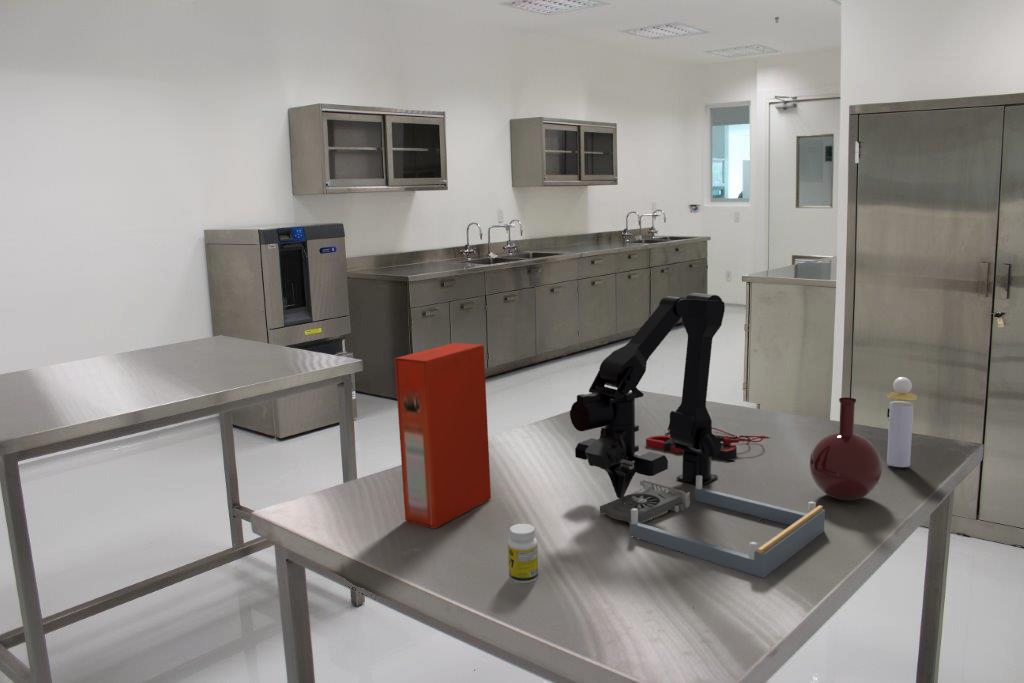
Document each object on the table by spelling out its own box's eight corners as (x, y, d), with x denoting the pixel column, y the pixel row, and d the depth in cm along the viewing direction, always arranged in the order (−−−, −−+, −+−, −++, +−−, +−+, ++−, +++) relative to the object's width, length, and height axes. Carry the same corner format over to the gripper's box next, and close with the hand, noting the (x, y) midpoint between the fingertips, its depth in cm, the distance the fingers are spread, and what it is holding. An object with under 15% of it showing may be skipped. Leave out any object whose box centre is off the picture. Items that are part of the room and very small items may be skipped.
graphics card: (643, 477, 167) (691, 490, 158) (644, 494, 168) (691, 509, 159) (586, 499, 157) (633, 515, 148) (586, 518, 157) (634, 535, 148)
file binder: (404, 520, 157) (394, 357, 151) (459, 492, 170) (452, 342, 165) (436, 529, 152) (427, 361, 146) (491, 499, 166) (484, 345, 160)
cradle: (697, 498, 163) (698, 474, 162) (824, 531, 145) (825, 504, 144) (629, 536, 146) (629, 509, 145) (763, 578, 129) (764, 548, 128)
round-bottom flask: (847, 516, 152) (852, 411, 148) (793, 494, 163) (796, 397, 160) (895, 502, 158) (900, 401, 154) (840, 482, 169) (843, 388, 166)
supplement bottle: (508, 571, 134) (506, 523, 132) (536, 569, 134) (535, 521, 133) (510, 585, 129) (508, 535, 128) (540, 583, 129) (538, 533, 128)
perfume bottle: (917, 471, 174) (922, 380, 170) (889, 471, 174) (893, 380, 171) (907, 462, 179) (911, 374, 176) (879, 462, 180) (884, 374, 177)
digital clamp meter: (741, 448, 181) (639, 432, 196) (740, 467, 182) (639, 450, 196) (775, 422, 200) (681, 409, 214) (775, 440, 200) (681, 426, 215)
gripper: (556, 422, 160) (558, 498, 162) (635, 440, 147) (635, 522, 150) (592, 410, 167) (592, 483, 170) (669, 426, 155) (669, 504, 157)
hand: (620, 497), depth 162 cm, fingers closed
